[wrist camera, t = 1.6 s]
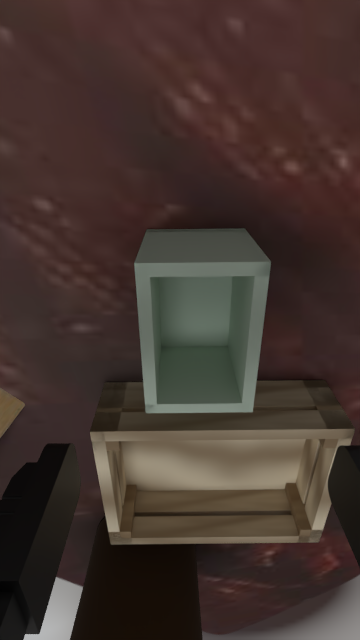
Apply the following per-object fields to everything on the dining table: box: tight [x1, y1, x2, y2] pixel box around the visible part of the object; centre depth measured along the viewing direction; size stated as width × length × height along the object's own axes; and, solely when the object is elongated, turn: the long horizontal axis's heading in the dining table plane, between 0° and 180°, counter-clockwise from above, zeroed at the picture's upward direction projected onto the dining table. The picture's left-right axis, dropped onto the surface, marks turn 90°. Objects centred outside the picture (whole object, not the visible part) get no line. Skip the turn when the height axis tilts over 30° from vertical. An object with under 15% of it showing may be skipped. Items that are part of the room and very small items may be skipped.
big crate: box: [90, 380, 355, 545], centre depth 24 cm, size 12×16×5 cm
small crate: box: [134, 228, 271, 413], centre depth 18 cm, size 8×6×6 cm
